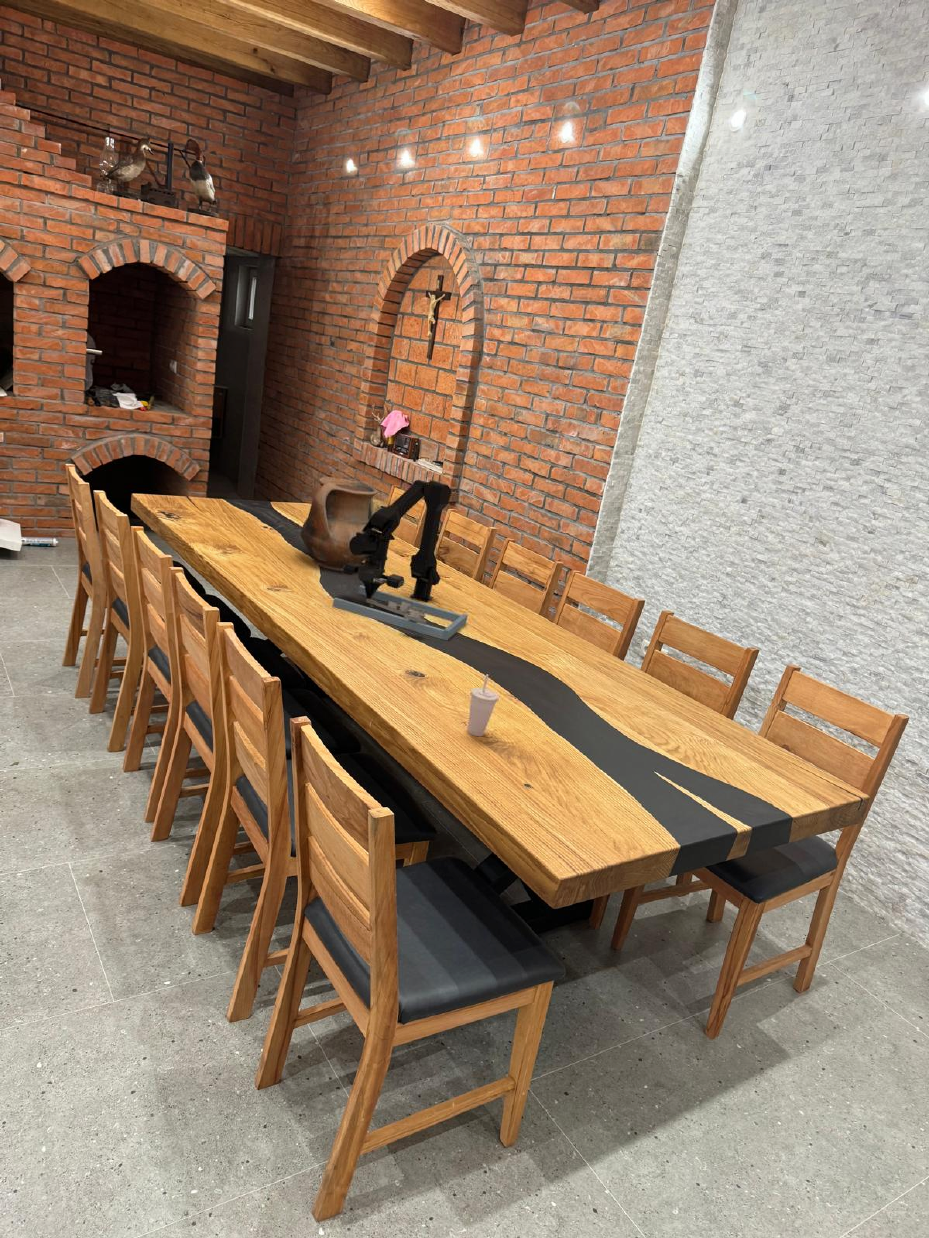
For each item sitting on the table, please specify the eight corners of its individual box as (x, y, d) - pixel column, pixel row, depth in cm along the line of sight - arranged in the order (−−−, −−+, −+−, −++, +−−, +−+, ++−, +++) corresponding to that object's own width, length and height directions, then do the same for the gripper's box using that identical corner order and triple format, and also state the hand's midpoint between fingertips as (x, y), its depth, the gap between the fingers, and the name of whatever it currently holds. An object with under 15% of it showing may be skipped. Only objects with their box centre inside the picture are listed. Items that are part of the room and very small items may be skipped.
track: (359, 592, 268) (361, 583, 267) (465, 623, 260) (467, 615, 259) (332, 606, 248) (334, 597, 247) (446, 640, 241) (448, 631, 240)
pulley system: (394, 613, 263) (358, 602, 252) (399, 599, 262) (363, 587, 252) (448, 635, 243) (411, 624, 232) (453, 620, 243) (417, 608, 232)
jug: (360, 583, 278) (375, 497, 269) (282, 563, 280) (295, 477, 272) (383, 564, 309) (398, 486, 300) (313, 546, 311) (326, 469, 303)
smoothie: (473, 723, 189) (486, 668, 185) (495, 735, 185) (509, 678, 181) (456, 729, 184) (469, 672, 180) (477, 741, 180) (491, 683, 176)
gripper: (339, 549, 246) (330, 598, 251) (396, 566, 242) (386, 615, 247) (354, 543, 256) (345, 590, 261) (409, 559, 252) (399, 607, 257)
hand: (368, 600), depth 256 cm, fingers closed
